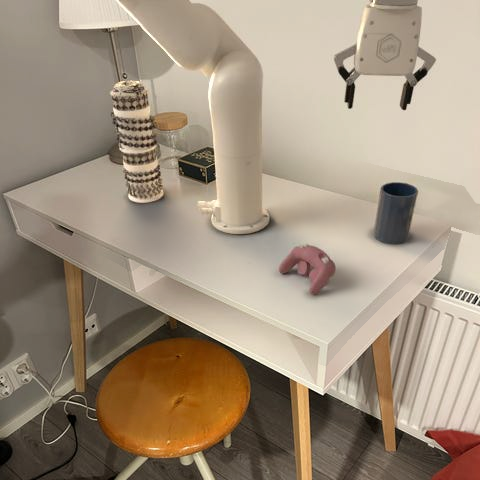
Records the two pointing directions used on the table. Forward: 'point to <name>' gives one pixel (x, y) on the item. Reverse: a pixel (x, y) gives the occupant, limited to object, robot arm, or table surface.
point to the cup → (395, 212)
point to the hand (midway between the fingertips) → (376, 107)
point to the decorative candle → (136, 141)
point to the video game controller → (304, 258)
